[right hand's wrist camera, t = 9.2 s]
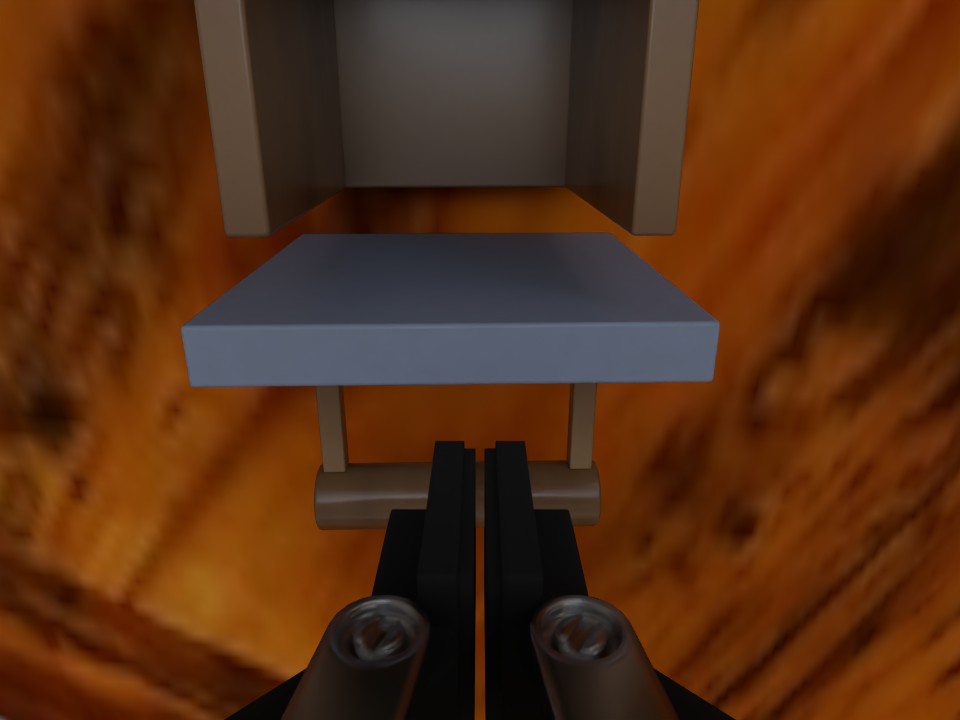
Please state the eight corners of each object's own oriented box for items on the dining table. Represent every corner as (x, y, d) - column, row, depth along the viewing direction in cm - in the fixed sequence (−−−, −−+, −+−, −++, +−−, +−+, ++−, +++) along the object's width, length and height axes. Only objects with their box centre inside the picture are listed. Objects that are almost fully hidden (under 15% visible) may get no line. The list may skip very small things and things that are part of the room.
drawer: (596, 440, 24) (680, 642, 15) (320, 443, 23) (232, 651, 14) (649, -349, 16) (887, -932, 7) (246, -356, 16) (-35, -968, 7)
